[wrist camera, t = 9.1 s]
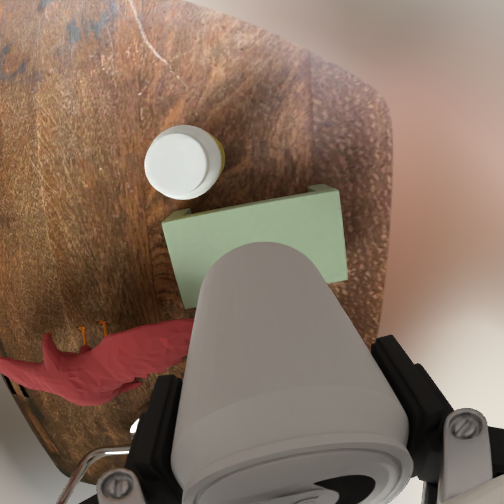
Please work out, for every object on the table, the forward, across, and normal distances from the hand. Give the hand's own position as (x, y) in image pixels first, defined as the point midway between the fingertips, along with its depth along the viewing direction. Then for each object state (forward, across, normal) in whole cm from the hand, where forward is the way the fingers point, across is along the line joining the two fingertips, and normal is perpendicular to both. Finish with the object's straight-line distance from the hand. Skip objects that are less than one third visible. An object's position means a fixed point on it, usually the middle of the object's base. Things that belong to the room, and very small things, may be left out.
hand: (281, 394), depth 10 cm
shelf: (+21, 0, 0) cm, 21 cm away
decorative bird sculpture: (+21, +19, +9) cm, 30 cm away
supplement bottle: (+21, +4, -8) cm, 23 cm away
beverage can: (+7, 0, 0) cm, 7 cm away
